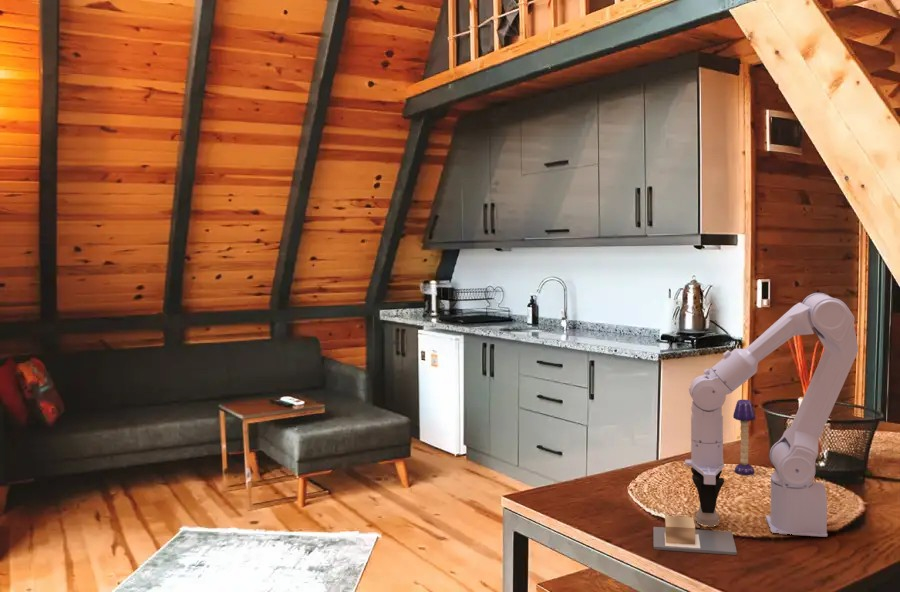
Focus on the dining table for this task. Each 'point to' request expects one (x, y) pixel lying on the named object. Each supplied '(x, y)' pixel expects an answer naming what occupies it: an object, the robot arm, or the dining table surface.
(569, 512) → the dining table surface
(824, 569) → the dining table surface
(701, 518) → the rook chess piece
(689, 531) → the oak block
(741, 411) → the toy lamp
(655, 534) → the slate board
